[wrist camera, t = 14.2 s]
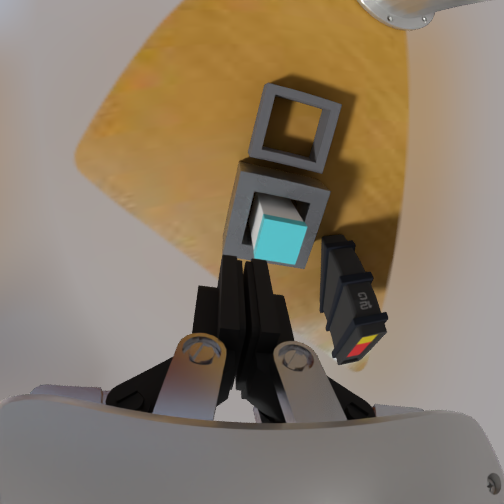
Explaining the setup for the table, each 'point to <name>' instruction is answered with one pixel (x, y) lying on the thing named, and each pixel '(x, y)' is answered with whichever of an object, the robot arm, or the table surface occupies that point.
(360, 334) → the magazine
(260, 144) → the grey square frame
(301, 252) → the port block
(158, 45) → the table surface
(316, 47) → the table surface
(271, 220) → the plug
